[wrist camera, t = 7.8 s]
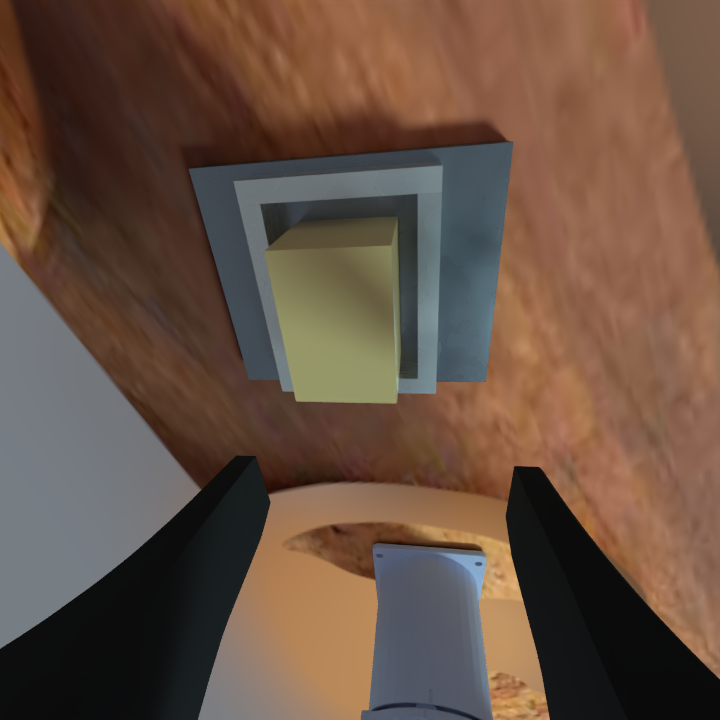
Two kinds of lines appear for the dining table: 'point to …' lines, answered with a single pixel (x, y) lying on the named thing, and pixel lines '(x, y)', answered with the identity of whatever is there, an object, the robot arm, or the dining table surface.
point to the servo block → (339, 308)
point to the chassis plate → (415, 237)
